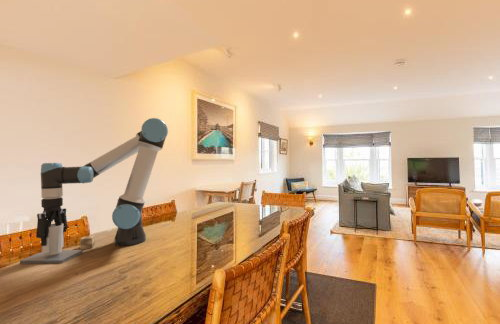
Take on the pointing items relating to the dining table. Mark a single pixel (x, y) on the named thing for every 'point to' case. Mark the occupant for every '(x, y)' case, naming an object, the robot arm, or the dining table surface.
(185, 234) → the dining table surface
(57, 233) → the cup
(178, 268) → the dining table surface
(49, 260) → the slate board
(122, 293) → the dining table surface
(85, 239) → the oak cube
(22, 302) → the dining table surface
